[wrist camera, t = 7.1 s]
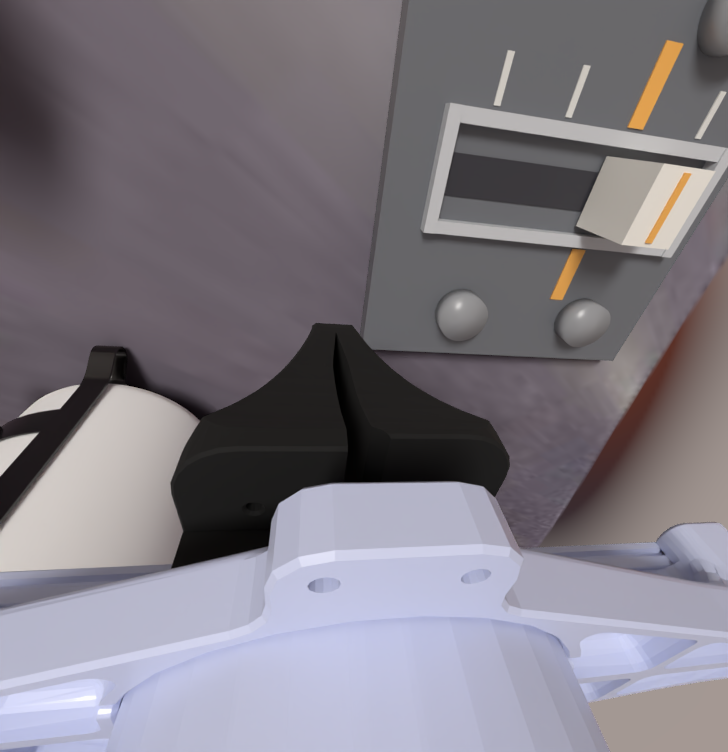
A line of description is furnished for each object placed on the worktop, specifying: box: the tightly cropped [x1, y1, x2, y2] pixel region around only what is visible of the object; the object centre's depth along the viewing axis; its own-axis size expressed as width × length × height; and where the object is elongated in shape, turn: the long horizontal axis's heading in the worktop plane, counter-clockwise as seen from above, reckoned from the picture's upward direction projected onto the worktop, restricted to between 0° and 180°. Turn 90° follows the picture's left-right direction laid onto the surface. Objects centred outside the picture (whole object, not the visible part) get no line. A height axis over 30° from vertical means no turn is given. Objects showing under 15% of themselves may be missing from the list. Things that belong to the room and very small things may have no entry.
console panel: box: [360, 0, 728, 361], centre depth 18 cm, size 20×18×3 cm
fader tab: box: [576, 156, 716, 250], centre depth 17 cm, size 3×2×4 cm
